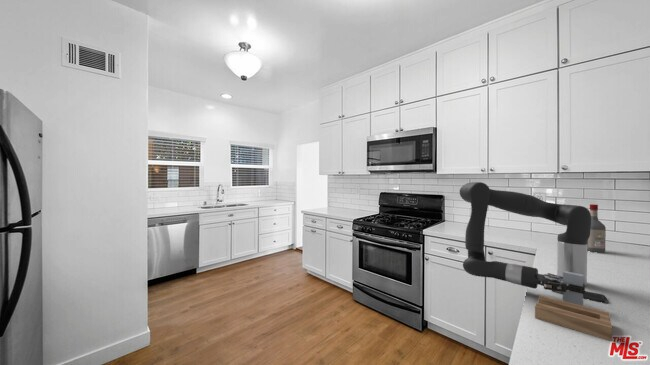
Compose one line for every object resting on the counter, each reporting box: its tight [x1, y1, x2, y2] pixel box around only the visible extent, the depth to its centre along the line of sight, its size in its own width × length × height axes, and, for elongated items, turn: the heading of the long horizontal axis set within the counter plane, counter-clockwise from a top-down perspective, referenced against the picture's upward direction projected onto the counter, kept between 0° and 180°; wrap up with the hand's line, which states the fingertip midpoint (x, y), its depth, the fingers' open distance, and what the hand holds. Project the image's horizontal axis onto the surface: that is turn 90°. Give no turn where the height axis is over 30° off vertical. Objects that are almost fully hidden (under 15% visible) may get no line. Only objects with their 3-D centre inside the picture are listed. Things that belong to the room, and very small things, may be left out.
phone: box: [550, 290, 609, 304], centre depth 98 cm, size 8×1×15 cm
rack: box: [534, 294, 613, 342], centre depth 78 cm, size 12×16×4 cm
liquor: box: [587, 203, 607, 254], centre depth 164 cm, size 9×9×30 cm
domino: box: [562, 271, 584, 306], centre depth 89 cm, size 2×5×11 cm, turn 45°
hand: (584, 288), depth 87 cm, fingers open, 3 cm apart
